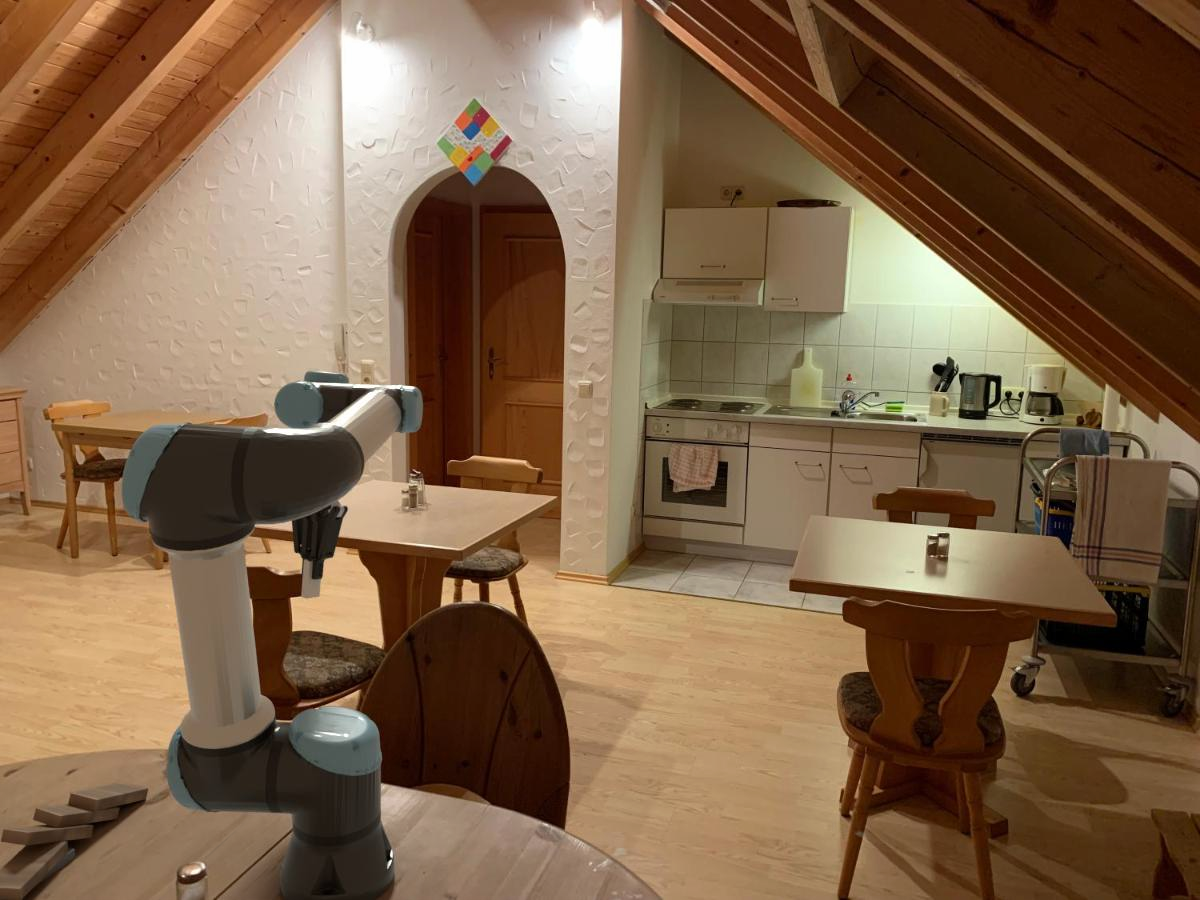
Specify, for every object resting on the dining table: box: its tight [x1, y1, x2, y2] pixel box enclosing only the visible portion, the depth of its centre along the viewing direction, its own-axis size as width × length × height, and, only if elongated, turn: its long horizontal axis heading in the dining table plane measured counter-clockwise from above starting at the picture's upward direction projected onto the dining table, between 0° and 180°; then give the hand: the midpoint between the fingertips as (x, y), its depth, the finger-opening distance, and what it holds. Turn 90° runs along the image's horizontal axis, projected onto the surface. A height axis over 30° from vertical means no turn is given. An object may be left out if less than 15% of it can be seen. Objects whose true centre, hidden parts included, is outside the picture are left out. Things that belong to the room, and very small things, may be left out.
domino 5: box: [67, 781, 149, 811], centre depth 138 cm, size 2×5×10 cm
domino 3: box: [0, 846, 76, 900], centre depth 123 cm, size 2×5×10 cm
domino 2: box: [0, 823, 94, 846], centre depth 127 cm, size 2×5×10 cm
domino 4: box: [32, 803, 120, 828], centre depth 133 cm, size 2×5×10 cm
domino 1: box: [0, 841, 69, 900], centre depth 121 cm, size 2×5×10 cm
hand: (310, 596), depth 157 cm, fingers closed
